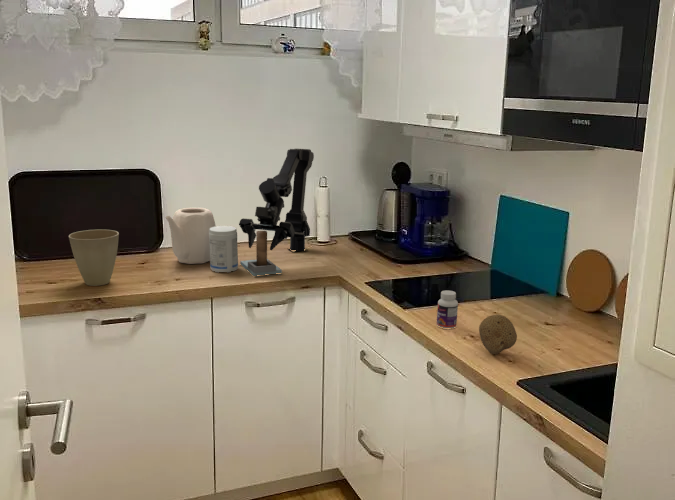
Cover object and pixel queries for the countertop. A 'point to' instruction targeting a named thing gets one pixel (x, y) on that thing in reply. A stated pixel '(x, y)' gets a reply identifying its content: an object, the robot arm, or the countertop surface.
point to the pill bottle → (447, 310)
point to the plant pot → (95, 254)
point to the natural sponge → (497, 333)
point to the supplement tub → (223, 248)
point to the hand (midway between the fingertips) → (260, 248)
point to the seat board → (260, 267)
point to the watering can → (191, 234)
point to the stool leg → (261, 248)
